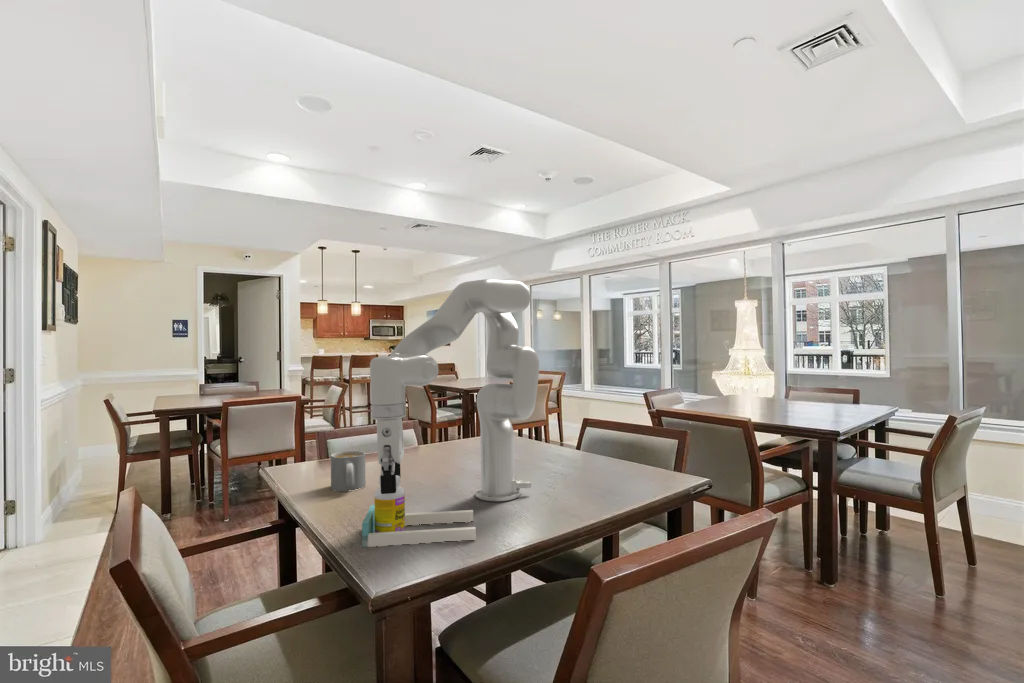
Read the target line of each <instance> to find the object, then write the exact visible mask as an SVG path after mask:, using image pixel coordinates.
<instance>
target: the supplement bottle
mask: <svg viewBox="0 0 1024 683" xmlns="http://www.w3.org/2000/svg"><path fill="white" fill-rule="evenodd" d="M378 484H379V487H378V488H377V489H376V490H375V491H374V505H375V531H374V533H379V532H396V531H406V530H405V529H406V528H405V527H406V526H405V514H406V510H405V508H406V506H405V505H406V500H405V499H406V497H405V496H406V494H405V493H406V492H405V489H404V488H403V487H402V486H400V484H401V478H400V476H398V475H396V493H390V494H381V481H380V477H378Z"/></svg>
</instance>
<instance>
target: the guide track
mask: <svg viewBox="0 0 1024 683" xmlns="http://www.w3.org/2000/svg"><path fill="white" fill-rule="evenodd" d="M471 521H473V522H474V510H473V509H466V510H465V509H464V510H462V509H461V510H449V511H448V510H446V511H429V512H409V513H405V527H408V526H407V525H412V526H422V525H421V524H430V525H434V524H433V523H447V524H454V523H453V522H465V523H472V522H471ZM419 524H420V525H419ZM476 532H477V530H476V526H467V527H466V526H465V527H452V528H451V527H449V528H447V527H446V528H432V529H420V530H419V529H417V530H415V529H414V530H405V531H396V532H379V533H375V504H371V505H370V507H369V509H368V511H367V512H366V515H365V517H364V519H363V521H362V523H361V543H362V544H361V546H362V547H361V548H376V546H378V547H389V546H388V545H394V546H403V545H402V544H410V545H419V543H426V544H432V543H431V542H442V543H444V542H443V541H457V540H458V542H462V541H461V540H474V541H476V540H477V533H476Z"/></svg>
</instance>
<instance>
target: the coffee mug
mask: <svg viewBox="0 0 1024 683" xmlns="http://www.w3.org/2000/svg"><path fill="white" fill-rule="evenodd" d="M364 486H365V487H366V452H365V451H363V450H344V451H338V452H335V453H332V454H330V490H331V489H332V490H331V491H333V490H336V491H335V492H337V491H349V490H355V489H359V488H362V487H364ZM365 487H364V488H365ZM362 489H363V488H362ZM359 490H360V489H359ZM355 491H356V490H355ZM349 492H350V491H349Z"/></svg>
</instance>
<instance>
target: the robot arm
mask: <svg viewBox="0 0 1024 683" xmlns="http://www.w3.org/2000/svg"><path fill="white" fill-rule="evenodd" d="M530 303H531V291H530V289H529V287H528V286H527V285H526V283H524V282H522V281H518V280H507V279H505V280H504V279H492V278H491V279H490V278H485V279H479V280H478V279H477V280H469V281H465V282H461V283H460V284H458V285H457V286H456V287H455V288H454V289H453V290H452V291H451V293H450V294H449V295H448V297H447V298H446V299H445V301H444V302H443V303H442V305H441V306H440V307H439V308H438V309H437V311H436V312H435V313H434V314H433V315H432V317H431V318H430V319H428V320H426V321H425V322H423V323H422V324H421V325H419V326H418V327H417V328H415V329H414V330H413V331H411V332H410V333H408V334H407V335H405V337H404V338H402V339H401V340H400V341H399V343H397V345H396V346H395V347H394V349H393V350H392V351H391V353H390V354H389V356H387V355H386V356H378V357H377V356H376V357H373V358H372V359H371V360H370V363H369V372H370V373H369V374H370V376H369V377H370V402H371V404H370V405H371V408H370V409H371V420H375V421H376V442H377V445H376V446H377V448H376V449H377V459H378V460H377V461H378V464H379V465H381V466H380V475H379V476H380V477H379V478H380V481H381V494H390V493H396V475H398V476H400V479H401V462H402V461H403V459H404V456H405V444H404V443H405V442H404V428H403V427H404V426H403V418H406V417H407V409H406V406H407V405H406V386H407V387H408V386H411V387H413V386H417V387H423V386H427V385H430V384H432V383H433V382H434V381H435V380H436V379H437V378H438V375H439V365H438V362H437V361H436V359H435V358H433V356H431V355H428V354H429V353H430V352H432V351H434V350H436V349H439V348H441V347H444V346H447V345H449V344H451V343H453V342H454V341H456V340H458V339H459V338H460V337H461V335H462V334H463V333H464V331H465V329H466V328H467V327H468V326H469V324H470V323H471V321H472V320H473V319H474V318H475V315H476V314H478V313H482V314H483V316H484V317H485V319H486V321H487V323H488V327H489V340H488V347H487V354H486V363H485V364H486V366H485V367H486V372H487V374H488V376H490V377H491V378H493V379H498V380H510V381H511V380H512V384H509V383H497V382H496V383H488V384H485V385H484V386H482V387H481V388H480V389H479V390H478V393H477V395H476V409H477V413H478V419H479V429H480V487H479V488H477V489H476V490H475V497H476V498H477V499H479V500H481V501H486V502H507V501H512V500H514V499H517V498H519V497H520V495H521V491H520V490H521V489H531V488H532V483H531V480H529V481H526V480H525V479H523V480H522V479H521V480H518V479H516V477H515V430H514V427H513V425H512V422H511V420H517V421H518V420H519V421H521V420H522V421H525V420H527V419H529V418H530V417H531V416H532V415H533V414H534V410H535V408H536V404H537V396H538V386H539V385H538V384H539V377H540V360H539V356H538V353H537V352H536V351H535V350H534V349H533V348H531V347H530V346H527V345H519V339H520V338H519V334H520V333H519V326H518V323H517V321H516V320H515V318H514V316H513V313H522V312H524V311H525V310H527V308H528V307H529V306H530Z"/></svg>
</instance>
